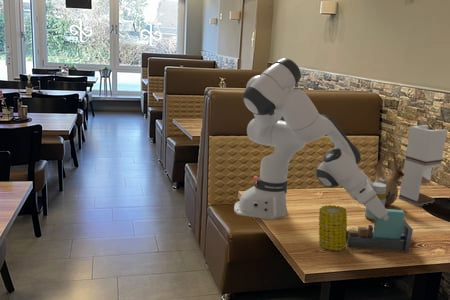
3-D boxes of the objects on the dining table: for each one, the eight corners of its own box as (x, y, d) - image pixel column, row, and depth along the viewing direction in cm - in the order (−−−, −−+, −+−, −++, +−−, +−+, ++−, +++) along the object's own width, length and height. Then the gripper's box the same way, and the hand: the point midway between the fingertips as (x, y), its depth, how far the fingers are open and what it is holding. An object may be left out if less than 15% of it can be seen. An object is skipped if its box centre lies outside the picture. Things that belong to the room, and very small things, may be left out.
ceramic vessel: (404, 208, 193) (413, 154, 186) (390, 212, 188) (399, 156, 182) (375, 196, 206) (382, 146, 200) (362, 199, 202) (369, 147, 196)
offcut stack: (348, 245, 155) (350, 225, 153) (346, 242, 157) (349, 223, 155) (370, 246, 154) (373, 227, 152) (368, 244, 156) (371, 225, 155)
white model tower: (418, 206, 197) (431, 131, 188) (398, 198, 206) (410, 126, 197) (434, 202, 202) (447, 129, 194) (414, 195, 211) (426, 125, 203)
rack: (348, 248, 152) (351, 225, 150) (343, 238, 160) (346, 216, 157) (408, 253, 151) (412, 229, 149) (401, 243, 159) (404, 220, 156)
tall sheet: (373, 247, 154) (378, 210, 151) (371, 244, 156) (376, 208, 153) (398, 249, 154) (404, 212, 150) (396, 246, 156) (402, 210, 153)
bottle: (383, 222, 176) (388, 188, 173) (365, 220, 178) (370, 186, 174) (381, 216, 183) (386, 182, 179) (364, 214, 184) (368, 180, 180)
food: (338, 258, 148) (312, 249, 154) (354, 241, 156) (329, 233, 162) (336, 220, 142) (310, 212, 149) (353, 204, 150) (327, 197, 156)
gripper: (346, 183, 161) (369, 209, 163) (359, 203, 141) (385, 233, 143) (360, 172, 160) (383, 199, 162) (375, 191, 140) (401, 221, 142)
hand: (384, 215), depth 152 cm, fingers open, 4 cm apart
